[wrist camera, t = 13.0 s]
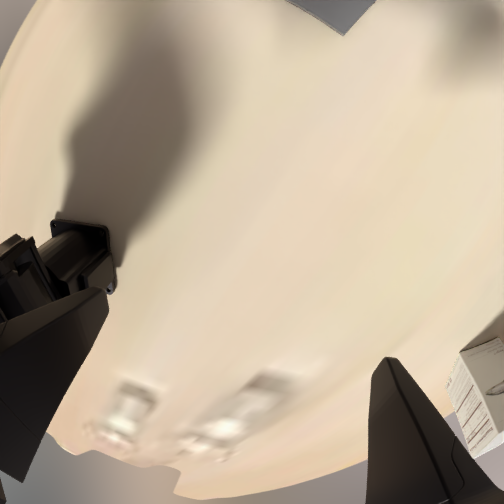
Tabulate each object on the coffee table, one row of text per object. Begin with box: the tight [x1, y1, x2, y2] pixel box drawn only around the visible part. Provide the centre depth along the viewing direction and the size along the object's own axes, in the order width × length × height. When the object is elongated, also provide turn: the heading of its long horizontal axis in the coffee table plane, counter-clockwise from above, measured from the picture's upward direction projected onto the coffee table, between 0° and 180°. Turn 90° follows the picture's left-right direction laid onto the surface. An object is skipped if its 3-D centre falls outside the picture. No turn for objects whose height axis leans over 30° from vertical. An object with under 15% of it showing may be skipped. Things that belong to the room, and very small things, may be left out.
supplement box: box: [445, 337, 504, 459], centre depth 20 cm, size 7×7×13 cm
